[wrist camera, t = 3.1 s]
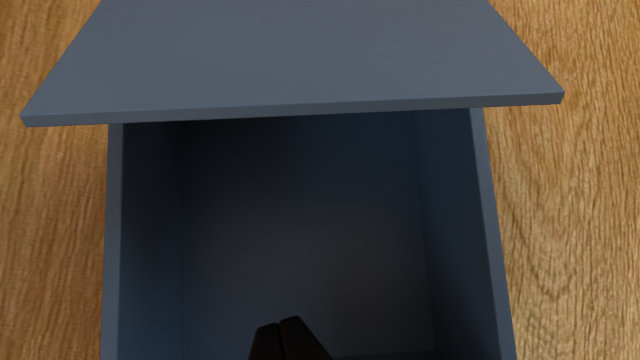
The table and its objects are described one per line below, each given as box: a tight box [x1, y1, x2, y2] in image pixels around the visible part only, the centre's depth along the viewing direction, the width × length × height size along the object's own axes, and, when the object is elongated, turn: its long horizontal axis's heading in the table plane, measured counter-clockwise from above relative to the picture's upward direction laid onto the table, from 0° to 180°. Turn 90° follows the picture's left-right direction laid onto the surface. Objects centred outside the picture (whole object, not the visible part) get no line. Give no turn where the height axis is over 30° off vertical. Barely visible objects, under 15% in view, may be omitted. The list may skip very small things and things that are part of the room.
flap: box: [20, 0, 565, 127], centre depth 12 cm, size 6×12×1 cm
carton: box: [100, 107, 517, 360], centre depth 17 cm, size 13×12×8 cm
